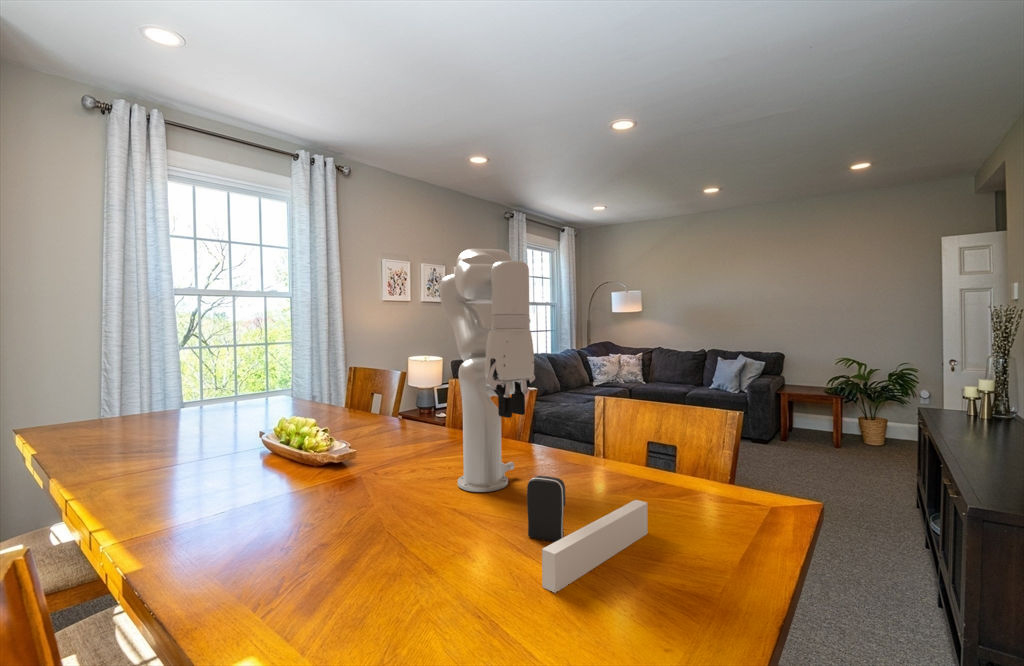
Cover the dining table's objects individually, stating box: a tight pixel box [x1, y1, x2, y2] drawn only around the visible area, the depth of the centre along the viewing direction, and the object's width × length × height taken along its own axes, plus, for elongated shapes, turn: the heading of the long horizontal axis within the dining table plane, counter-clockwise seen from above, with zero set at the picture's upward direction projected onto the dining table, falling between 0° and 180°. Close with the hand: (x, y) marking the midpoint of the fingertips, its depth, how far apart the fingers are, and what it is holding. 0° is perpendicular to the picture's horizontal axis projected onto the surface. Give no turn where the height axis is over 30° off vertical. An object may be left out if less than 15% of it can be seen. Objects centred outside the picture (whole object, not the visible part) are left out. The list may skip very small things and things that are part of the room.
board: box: [541, 499, 649, 594], centre depth 86 cm, size 28×2×6 cm, turn 136°
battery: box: [526, 475, 566, 543], centre depth 95 cm, size 7×4×11 cm, turn 66°
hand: (511, 414), depth 100 cm, fingers open, 3 cm apart
